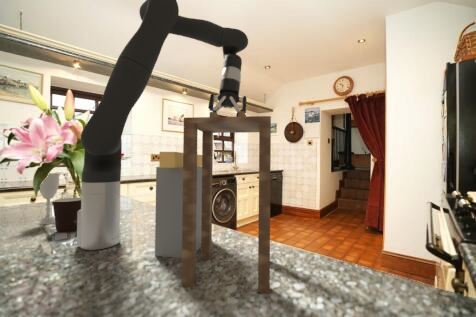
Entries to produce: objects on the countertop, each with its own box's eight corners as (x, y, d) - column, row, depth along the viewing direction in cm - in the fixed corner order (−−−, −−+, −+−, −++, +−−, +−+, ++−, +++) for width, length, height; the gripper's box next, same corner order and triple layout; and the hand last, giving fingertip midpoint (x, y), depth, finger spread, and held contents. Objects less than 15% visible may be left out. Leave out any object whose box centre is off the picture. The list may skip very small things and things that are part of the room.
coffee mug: (67, 234, 71) (68, 202, 72) (44, 232, 73) (45, 201, 73) (97, 224, 83) (97, 196, 83) (77, 223, 85) (77, 195, 85)
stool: (181, 286, 42) (183, 112, 43) (203, 255, 56) (205, 124, 57) (269, 293, 40) (270, 110, 41) (269, 260, 54) (270, 123, 55)
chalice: (63, 222, 86) (64, 173, 86) (40, 226, 80) (41, 174, 81) (54, 219, 90) (55, 173, 90) (32, 223, 84) (33, 173, 84)
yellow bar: (159, 167, 51) (159, 151, 52) (191, 166, 73) (191, 155, 73) (174, 167, 51) (174, 151, 51) (202, 166, 73) (202, 155, 73)
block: (154, 256, 56) (156, 167, 56) (177, 237, 70) (178, 166, 70) (190, 258, 55) (191, 167, 55) (206, 239, 68) (207, 166, 69)
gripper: (210, 76, 87) (205, 117, 84) (248, 78, 85) (243, 120, 83) (214, 85, 94) (209, 123, 92) (249, 87, 93) (245, 126, 90)
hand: (225, 122), depth 87 cm, fingers open, 8 cm apart
